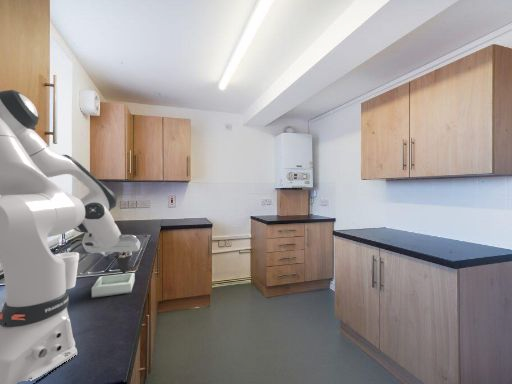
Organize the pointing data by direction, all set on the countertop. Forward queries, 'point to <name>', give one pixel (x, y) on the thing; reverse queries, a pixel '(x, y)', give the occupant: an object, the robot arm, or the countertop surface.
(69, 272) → the foam cup
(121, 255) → the sundae
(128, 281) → the bin
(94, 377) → the countertop surface
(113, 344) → the countertop surface
